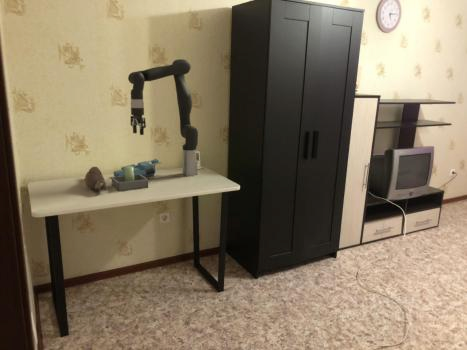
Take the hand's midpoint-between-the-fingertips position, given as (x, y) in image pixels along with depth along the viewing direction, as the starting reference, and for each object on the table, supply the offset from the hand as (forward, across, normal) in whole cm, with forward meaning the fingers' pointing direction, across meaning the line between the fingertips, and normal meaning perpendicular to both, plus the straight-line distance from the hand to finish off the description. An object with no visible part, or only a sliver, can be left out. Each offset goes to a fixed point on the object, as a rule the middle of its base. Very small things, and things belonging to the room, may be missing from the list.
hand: (138, 134), depth 225 cm
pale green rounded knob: (+29, -5, +10) cm, 31 cm away
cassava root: (+30, +8, +26) cm, 41 cm away
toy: (+30, +13, -6) cm, 34 cm away
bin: (+30, -5, +10) cm, 32 cm away
